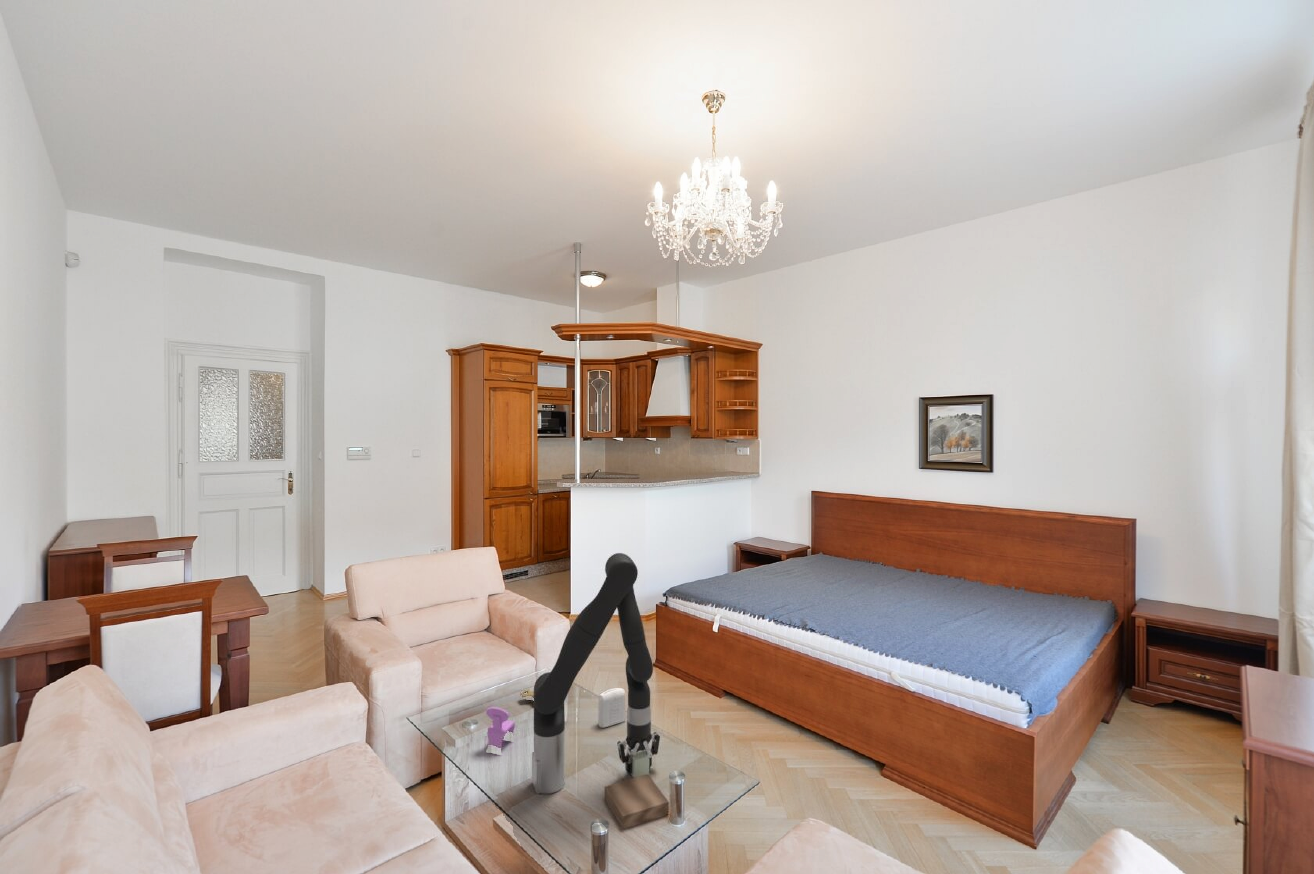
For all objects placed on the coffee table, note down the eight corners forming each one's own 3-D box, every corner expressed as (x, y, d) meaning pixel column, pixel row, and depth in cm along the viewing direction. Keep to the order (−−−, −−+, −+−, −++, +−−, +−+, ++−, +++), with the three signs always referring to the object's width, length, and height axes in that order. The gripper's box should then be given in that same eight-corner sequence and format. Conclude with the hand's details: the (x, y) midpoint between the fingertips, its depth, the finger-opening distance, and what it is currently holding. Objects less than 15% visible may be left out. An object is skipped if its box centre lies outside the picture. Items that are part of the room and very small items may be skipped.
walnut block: (622, 830, 160) (622, 816, 160) (604, 799, 173) (604, 786, 172) (668, 815, 166) (668, 801, 166) (647, 786, 179) (647, 773, 178)
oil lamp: (519, 700, 231) (519, 687, 230) (556, 694, 236) (556, 681, 235) (523, 713, 221) (523, 700, 220) (561, 706, 226) (561, 693, 225)
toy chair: (518, 742, 201) (518, 699, 201) (504, 756, 193) (504, 711, 192) (496, 738, 204) (496, 695, 203) (482, 752, 195) (482, 708, 195)
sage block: (634, 779, 182) (634, 760, 181) (628, 770, 186) (628, 751, 186) (649, 774, 184) (649, 756, 183) (642, 766, 188) (642, 747, 188)
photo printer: (621, 716, 219) (621, 683, 218) (627, 721, 215) (627, 688, 215) (596, 724, 213) (596, 690, 213) (602, 729, 210) (602, 695, 209)
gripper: (622, 729, 178) (621, 783, 178) (664, 718, 184) (664, 771, 185) (613, 717, 184) (612, 769, 185) (654, 707, 191) (654, 758, 191)
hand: (638, 770), depth 185 cm, fingers open, 5 cm apart
